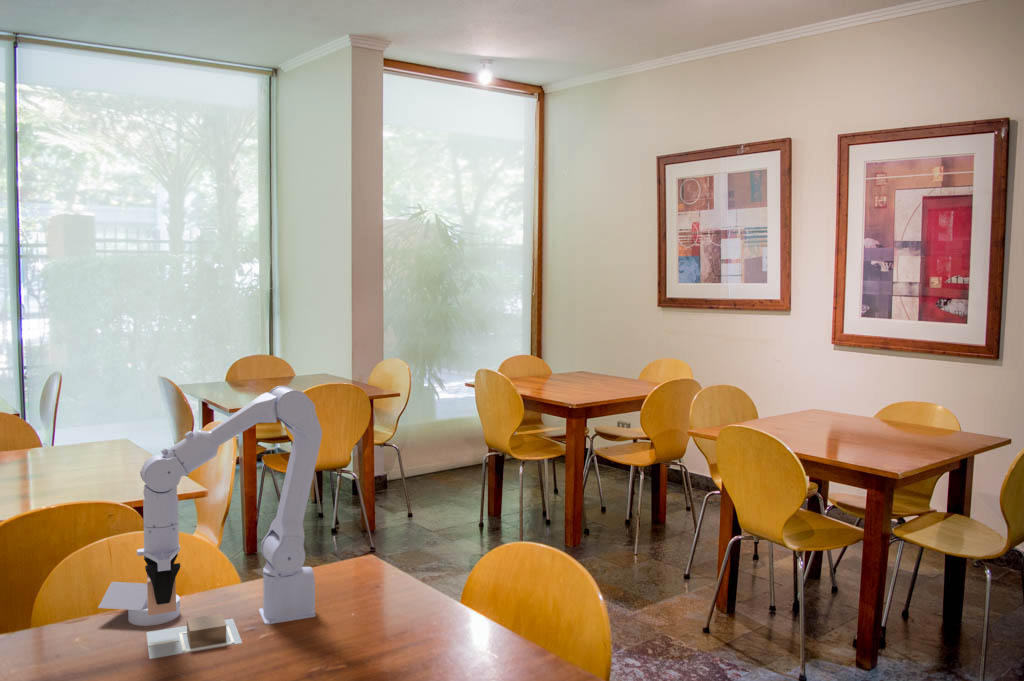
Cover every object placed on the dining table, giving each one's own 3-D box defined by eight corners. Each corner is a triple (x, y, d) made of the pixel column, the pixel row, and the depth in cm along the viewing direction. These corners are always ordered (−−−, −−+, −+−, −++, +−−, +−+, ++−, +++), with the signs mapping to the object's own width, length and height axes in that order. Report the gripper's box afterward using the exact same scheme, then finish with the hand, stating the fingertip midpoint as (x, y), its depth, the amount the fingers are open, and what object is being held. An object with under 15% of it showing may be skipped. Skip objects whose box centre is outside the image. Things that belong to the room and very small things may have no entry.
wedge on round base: (98, 625, 151) (164, 629, 150) (97, 590, 151) (164, 593, 149) (125, 607, 160) (188, 610, 159) (125, 573, 159) (188, 576, 158)
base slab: (222, 629, 149) (221, 613, 149) (226, 642, 143) (226, 625, 143) (186, 635, 146) (186, 618, 146) (189, 648, 141) (189, 631, 140)
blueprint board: (233, 620, 154) (232, 617, 154) (242, 645, 143) (242, 642, 143) (146, 634, 147) (146, 631, 147) (149, 661, 136) (149, 657, 136)
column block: (174, 602, 148) (173, 570, 148) (176, 611, 144) (175, 578, 144) (147, 606, 146) (146, 573, 146) (148, 615, 142) (147, 581, 142)
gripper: (135, 516, 149) (136, 588, 150) (137, 537, 136) (139, 616, 137) (176, 511, 152) (177, 582, 153) (182, 532, 139) (184, 609, 140)
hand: (162, 598), depth 145 cm, fingers closed on column block, 4 cm apart
